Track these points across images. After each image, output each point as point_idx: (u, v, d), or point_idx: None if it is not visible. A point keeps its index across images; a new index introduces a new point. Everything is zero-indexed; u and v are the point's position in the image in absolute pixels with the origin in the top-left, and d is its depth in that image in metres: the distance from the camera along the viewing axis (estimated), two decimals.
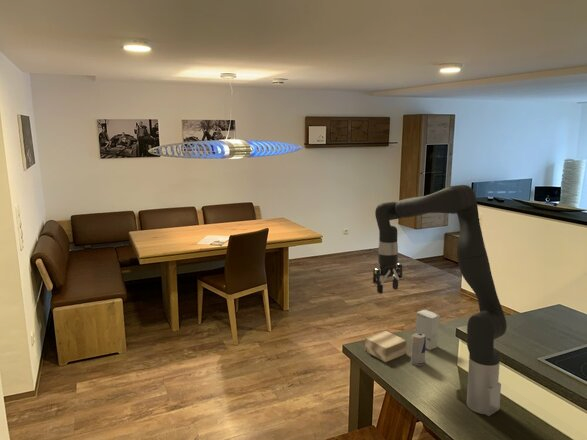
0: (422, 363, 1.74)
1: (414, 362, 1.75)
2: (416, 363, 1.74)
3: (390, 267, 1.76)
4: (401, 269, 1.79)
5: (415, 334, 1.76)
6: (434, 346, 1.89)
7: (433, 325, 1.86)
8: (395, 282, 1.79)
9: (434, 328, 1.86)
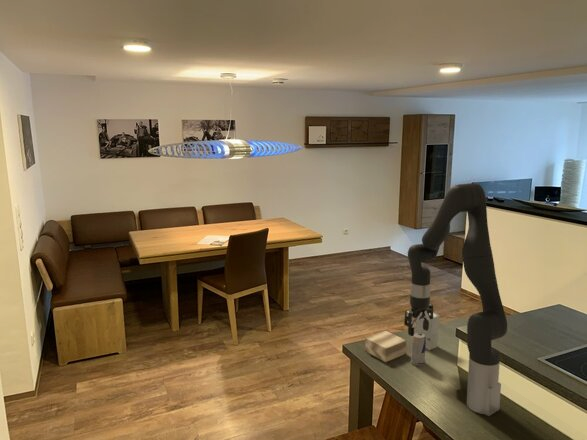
0: (422, 363, 1.74)
1: (414, 362, 1.75)
2: (416, 363, 1.74)
3: (422, 309, 1.72)
4: (432, 310, 1.76)
5: (415, 334, 1.76)
6: (434, 346, 1.89)
7: (433, 325, 1.86)
8: (426, 323, 1.76)
9: (434, 328, 1.86)
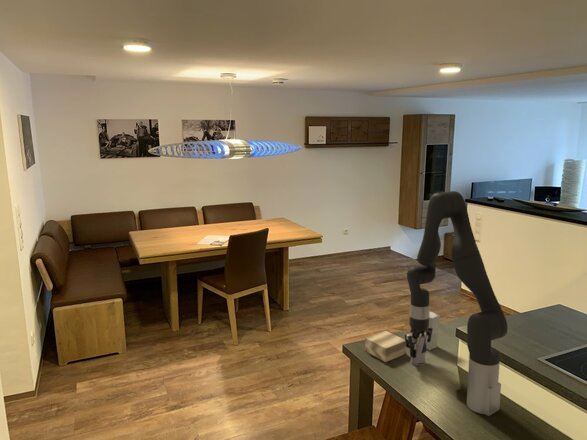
0: (422, 363, 1.74)
1: (414, 362, 1.75)
2: (416, 363, 1.74)
3: (421, 330, 1.73)
4: (431, 333, 1.77)
5: None
6: (434, 346, 1.89)
7: (433, 325, 1.86)
8: None
9: (434, 328, 1.86)
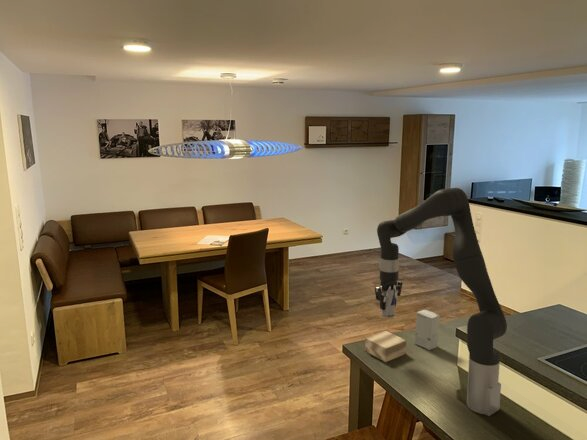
0: (391, 315, 1.80)
1: (384, 314, 1.81)
2: (386, 315, 1.80)
3: (391, 283, 1.79)
4: (401, 287, 1.83)
5: None
6: (434, 346, 1.89)
7: (433, 325, 1.86)
8: None
9: (434, 328, 1.86)
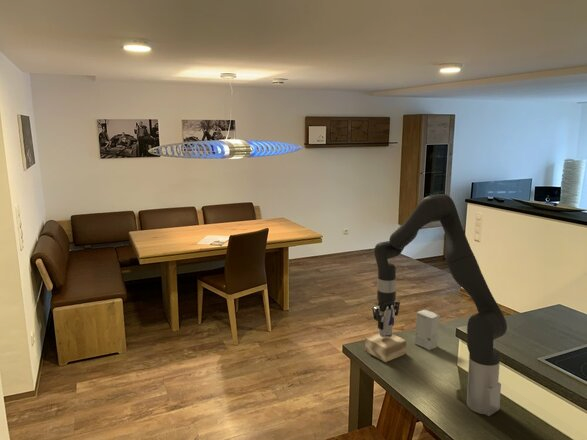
0: (389, 335, 1.82)
1: (382, 334, 1.82)
2: (383, 335, 1.82)
3: (388, 303, 1.81)
4: (398, 307, 1.85)
5: None
6: (434, 346, 1.89)
7: (433, 325, 1.86)
8: None
9: (434, 328, 1.86)
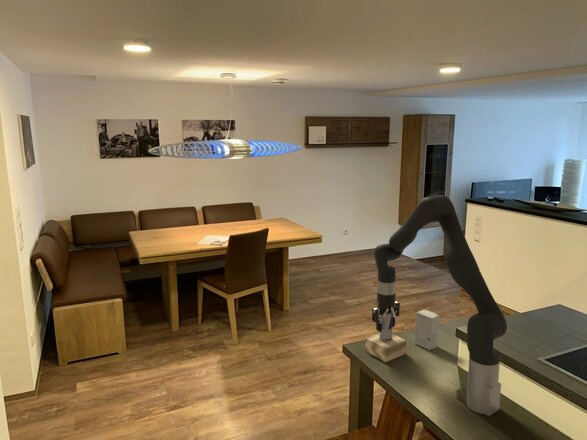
0: (389, 339, 1.82)
1: (382, 338, 1.83)
2: (383, 339, 1.82)
3: (388, 305, 1.81)
4: (399, 307, 1.85)
5: None
6: (434, 346, 1.89)
7: (433, 325, 1.86)
8: None
9: (434, 328, 1.86)
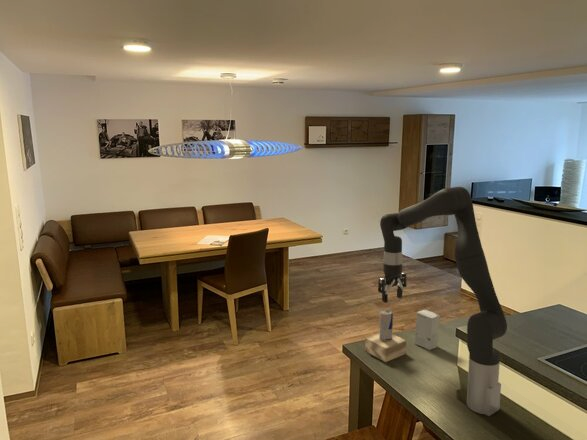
0: (389, 339, 1.82)
1: (382, 338, 1.83)
2: (383, 339, 1.82)
3: (395, 276, 1.79)
4: (405, 278, 1.83)
5: (383, 311, 1.84)
6: (434, 346, 1.89)
7: (433, 325, 1.86)
8: (399, 291, 1.83)
9: (434, 328, 1.86)
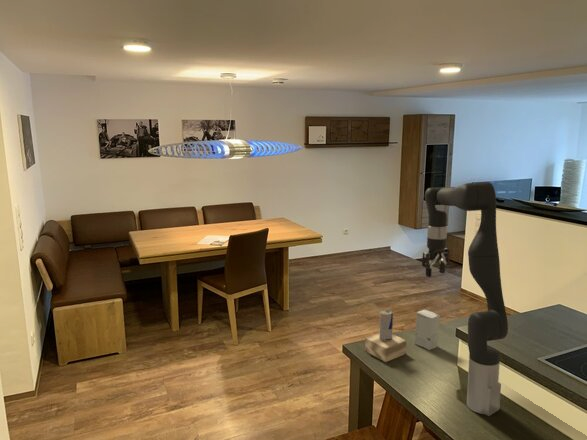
0: (389, 339, 1.82)
1: (382, 338, 1.83)
2: (383, 339, 1.82)
3: (438, 251, 1.79)
4: (448, 253, 1.83)
5: (383, 311, 1.84)
6: (434, 346, 1.89)
7: (433, 325, 1.86)
8: (442, 266, 1.83)
9: (434, 328, 1.86)
